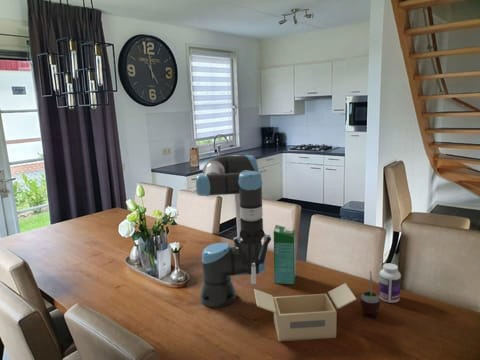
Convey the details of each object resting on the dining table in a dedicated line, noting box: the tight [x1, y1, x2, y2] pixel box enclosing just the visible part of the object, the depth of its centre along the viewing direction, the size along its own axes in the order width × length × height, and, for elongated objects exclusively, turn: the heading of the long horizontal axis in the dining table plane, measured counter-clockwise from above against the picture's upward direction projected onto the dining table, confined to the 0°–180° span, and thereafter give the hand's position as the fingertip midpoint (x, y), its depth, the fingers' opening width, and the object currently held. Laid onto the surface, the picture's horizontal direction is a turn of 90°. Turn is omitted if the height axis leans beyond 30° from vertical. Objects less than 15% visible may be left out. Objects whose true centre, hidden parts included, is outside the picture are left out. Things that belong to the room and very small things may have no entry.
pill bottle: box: [378, 262, 402, 304], centre depth 146 cm, size 8×8×14 cm
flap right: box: [327, 282, 357, 310], centre depth 128 cm, size 1×11×7 cm
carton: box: [273, 293, 338, 342], centre depth 129 cm, size 20×12×10 cm, turn 93°
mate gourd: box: [359, 270, 381, 319], centre depth 136 cm, size 8×8×15 cm
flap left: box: [253, 288, 277, 314], centre depth 127 cm, size 1×11×7 cm
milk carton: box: [273, 224, 297, 285], centre depth 164 cm, size 9×9×25 cm
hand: (253, 281), depth 126 cm, fingers closed
